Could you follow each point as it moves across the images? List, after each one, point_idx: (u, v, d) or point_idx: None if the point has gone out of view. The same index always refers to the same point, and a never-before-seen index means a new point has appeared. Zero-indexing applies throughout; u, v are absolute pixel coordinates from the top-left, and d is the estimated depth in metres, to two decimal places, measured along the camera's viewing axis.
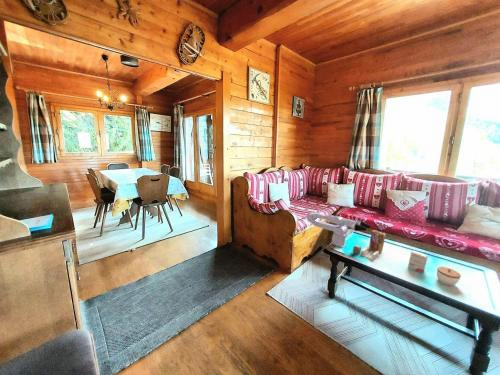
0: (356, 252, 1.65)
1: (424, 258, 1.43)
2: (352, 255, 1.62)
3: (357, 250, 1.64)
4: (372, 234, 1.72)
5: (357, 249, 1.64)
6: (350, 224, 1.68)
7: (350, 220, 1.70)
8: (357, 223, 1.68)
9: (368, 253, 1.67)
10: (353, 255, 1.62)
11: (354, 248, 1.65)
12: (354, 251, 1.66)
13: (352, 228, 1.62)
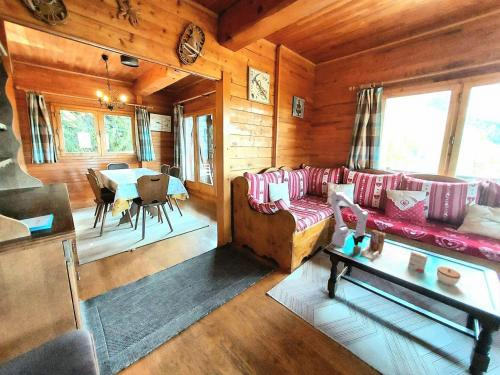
0: (356, 252, 1.65)
1: (424, 258, 1.43)
2: (352, 255, 1.62)
3: (357, 250, 1.64)
4: (372, 234, 1.72)
5: (357, 249, 1.64)
6: (359, 230, 1.60)
7: (364, 229, 1.59)
8: None
9: (368, 253, 1.67)
10: (353, 255, 1.62)
11: (354, 248, 1.65)
12: (354, 251, 1.66)
13: (354, 235, 1.59)
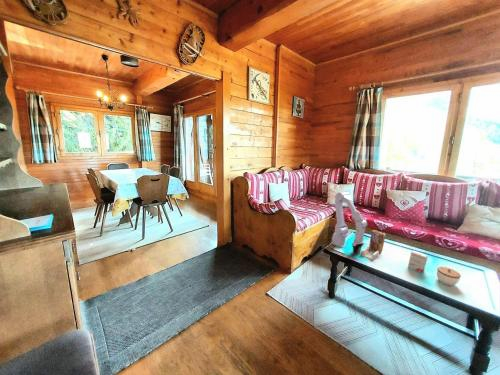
0: None
1: (424, 258, 1.43)
2: (352, 255, 1.62)
3: None
4: (372, 234, 1.72)
5: None
6: (357, 238, 1.62)
7: (362, 237, 1.61)
8: None
9: (368, 253, 1.67)
10: (353, 255, 1.62)
11: None
12: None
13: (352, 244, 1.61)
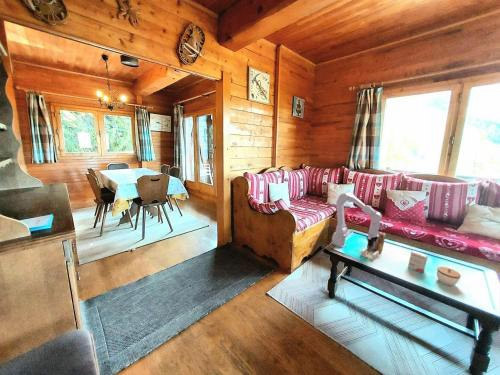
0: None
1: (424, 258, 1.43)
2: (367, 249, 1.58)
3: None
4: None
5: None
6: (372, 231, 1.58)
7: (377, 230, 1.57)
8: None
9: (368, 253, 1.67)
10: (368, 249, 1.58)
11: None
12: None
13: (367, 237, 1.56)
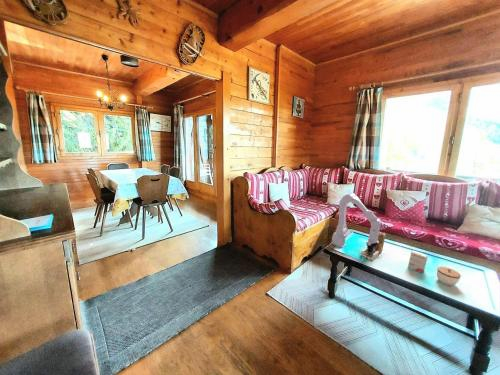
0: None
1: (424, 258, 1.43)
2: (367, 255, 1.59)
3: (372, 250, 1.61)
4: None
5: None
6: (372, 237, 1.59)
7: (377, 236, 1.58)
8: None
9: None
10: (368, 255, 1.59)
11: None
12: None
13: (367, 243, 1.57)
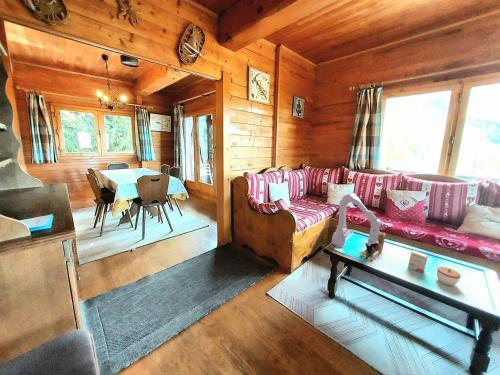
0: (370, 254, 1.62)
1: (424, 258, 1.43)
2: (366, 257, 1.59)
3: (371, 252, 1.61)
4: None
5: (371, 251, 1.61)
6: (372, 238, 1.59)
7: (377, 237, 1.58)
8: None
9: None
10: (367, 257, 1.60)
11: None
12: (368, 253, 1.63)
13: (367, 243, 1.57)
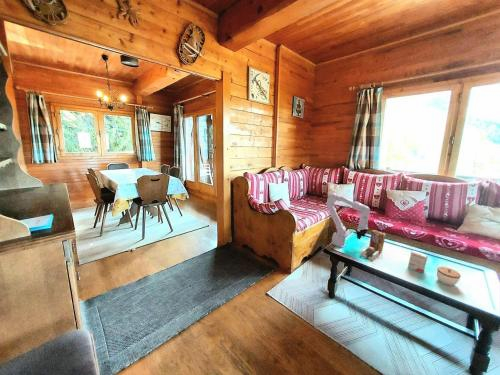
0: (370, 254, 1.62)
1: (424, 258, 1.43)
2: (366, 257, 1.59)
3: (371, 252, 1.61)
4: (372, 234, 1.72)
5: (371, 251, 1.61)
6: (362, 224, 1.67)
7: (366, 223, 1.66)
8: None
9: None
10: (367, 257, 1.60)
11: (368, 250, 1.63)
12: (368, 253, 1.63)
13: (357, 229, 1.66)
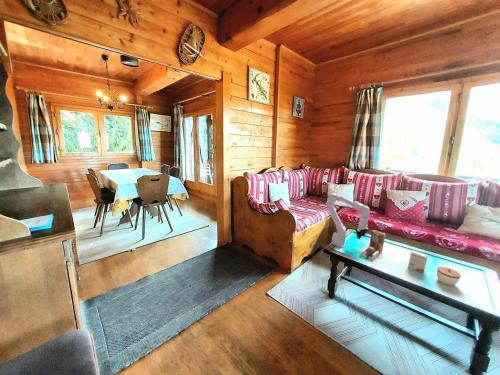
0: (370, 254, 1.62)
1: (424, 258, 1.43)
2: (366, 257, 1.59)
3: (371, 252, 1.61)
4: (372, 234, 1.72)
5: (371, 251, 1.61)
6: (362, 224, 1.67)
7: (366, 223, 1.66)
8: None
9: None
10: (367, 257, 1.60)
11: (368, 250, 1.63)
12: (368, 253, 1.63)
13: (357, 229, 1.66)
